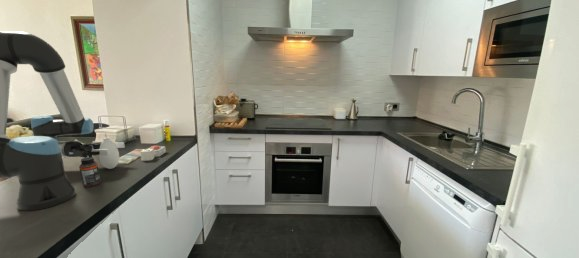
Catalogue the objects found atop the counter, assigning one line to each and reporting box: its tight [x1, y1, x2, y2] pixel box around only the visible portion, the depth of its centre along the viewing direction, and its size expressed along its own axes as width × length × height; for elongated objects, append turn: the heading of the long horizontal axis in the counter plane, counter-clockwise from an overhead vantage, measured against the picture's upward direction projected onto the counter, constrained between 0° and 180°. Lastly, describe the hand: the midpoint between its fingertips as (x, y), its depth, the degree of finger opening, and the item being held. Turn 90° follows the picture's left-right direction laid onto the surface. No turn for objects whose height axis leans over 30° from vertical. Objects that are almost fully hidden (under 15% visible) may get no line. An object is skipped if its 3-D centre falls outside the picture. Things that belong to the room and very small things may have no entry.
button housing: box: [147, 145, 167, 158], centre depth 140 cm, size 8×8×4 cm
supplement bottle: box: [78, 156, 102, 188], centre depth 101 cm, size 6×6×11 cm
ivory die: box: [140, 148, 155, 162], centre depth 132 cm, size 5×5×5 cm
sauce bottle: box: [98, 132, 120, 170], centre depth 117 cm, size 8×8×18 cm
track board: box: [116, 148, 144, 166], centre depth 136 cm, size 24×9×1 cm, turn 2°
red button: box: [149, 145, 160, 150], centre depth 140 cm, size 5×5×3 cm
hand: (116, 148), depth 117 cm, fingers open, 11 cm apart
